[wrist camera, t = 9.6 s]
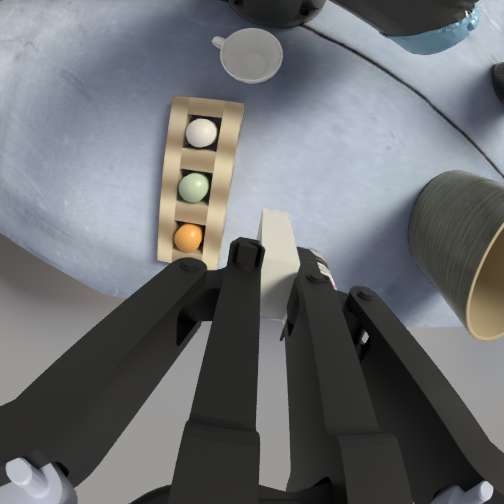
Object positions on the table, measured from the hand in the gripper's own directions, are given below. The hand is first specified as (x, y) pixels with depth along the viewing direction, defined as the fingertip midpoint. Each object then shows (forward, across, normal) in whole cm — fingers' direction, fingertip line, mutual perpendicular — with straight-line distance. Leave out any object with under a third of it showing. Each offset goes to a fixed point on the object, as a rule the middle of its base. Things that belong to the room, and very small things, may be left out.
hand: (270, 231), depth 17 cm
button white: (+26, -10, +4) cm, 28 cm away
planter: (+27, +36, -1) cm, 45 cm away
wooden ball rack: (+26, -10, -4) cm, 29 cm away
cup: (+27, -6, +16) cm, 32 cm away
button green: (+26, -10, -4) cm, 28 cm away
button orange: (+26, -10, -12) cm, 30 cm away
